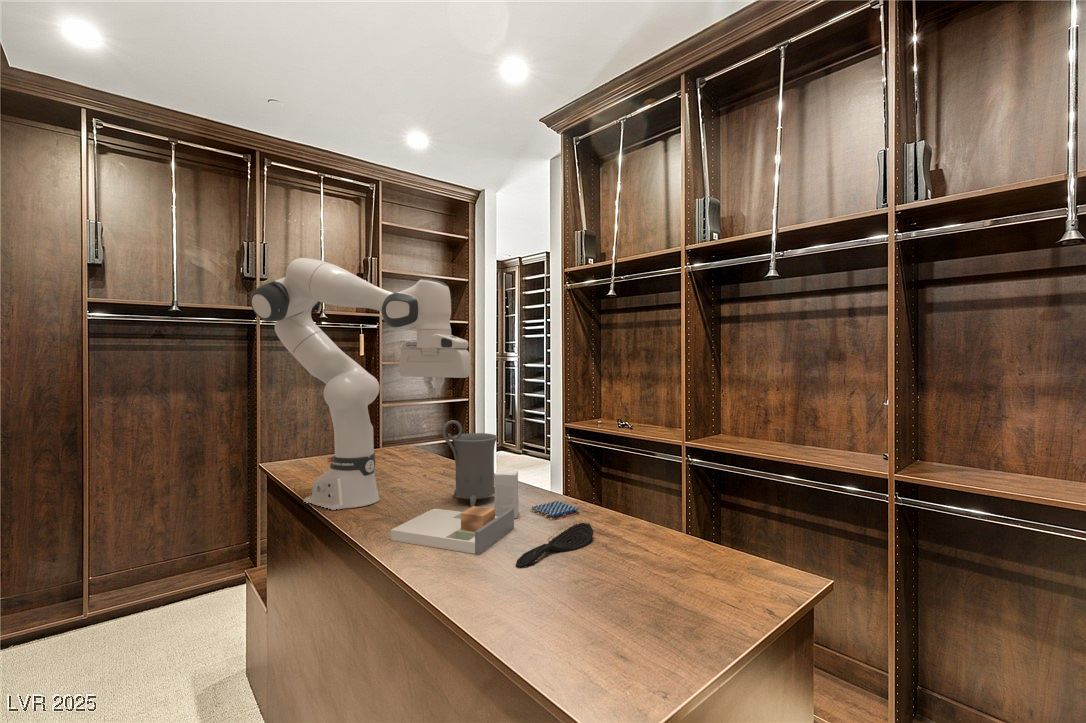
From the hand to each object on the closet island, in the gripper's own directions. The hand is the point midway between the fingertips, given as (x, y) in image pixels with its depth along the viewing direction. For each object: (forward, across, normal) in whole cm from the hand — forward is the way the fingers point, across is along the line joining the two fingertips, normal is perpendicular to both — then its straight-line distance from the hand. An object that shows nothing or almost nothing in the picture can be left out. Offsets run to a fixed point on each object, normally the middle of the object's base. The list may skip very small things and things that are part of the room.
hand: (434, 394), depth 133 cm
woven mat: (+34, +26, +20) cm, 48 cm away
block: (+31, +16, -5) cm, 35 cm away
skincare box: (+34, +15, +12) cm, 39 cm away
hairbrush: (+34, +36, -5) cm, 50 cm away
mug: (+34, -1, +21) cm, 40 cm away
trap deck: (+34, +9, -5) cm, 35 cm away
